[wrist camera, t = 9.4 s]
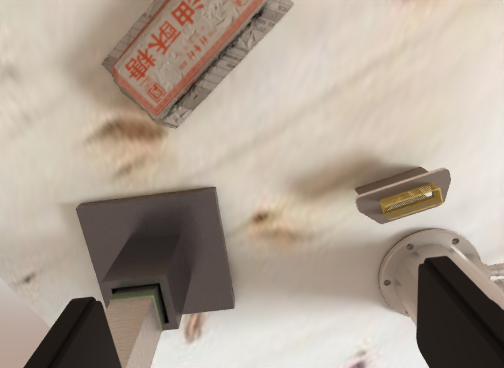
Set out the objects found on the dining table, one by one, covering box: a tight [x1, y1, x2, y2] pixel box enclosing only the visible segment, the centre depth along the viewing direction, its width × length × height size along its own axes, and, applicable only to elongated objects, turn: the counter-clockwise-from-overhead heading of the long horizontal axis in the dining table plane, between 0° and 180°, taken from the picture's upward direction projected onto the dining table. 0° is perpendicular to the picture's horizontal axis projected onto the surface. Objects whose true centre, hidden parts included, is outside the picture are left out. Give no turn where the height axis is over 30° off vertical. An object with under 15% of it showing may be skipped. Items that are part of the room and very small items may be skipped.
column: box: [105, 283, 167, 368], centre depth 33 cm, size 4×4×16 cm
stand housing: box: [76, 187, 235, 335], centre depth 42 cm, size 16×16×10 cm
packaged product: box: [102, 0, 294, 128], centre depth 37 cm, size 18×5×10 cm
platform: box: [355, 167, 451, 224], centre depth 42 cm, size 12×18×7 cm, turn 110°
